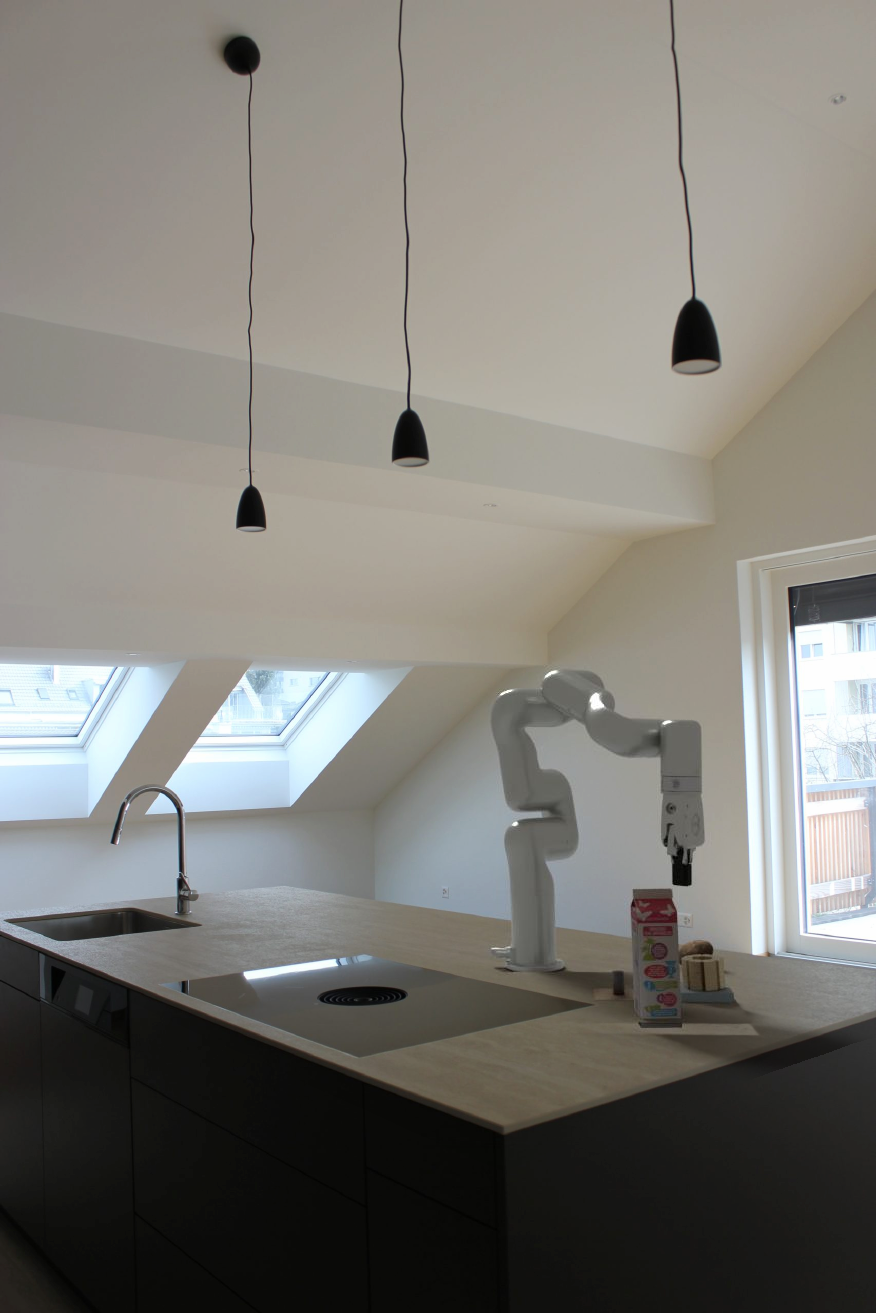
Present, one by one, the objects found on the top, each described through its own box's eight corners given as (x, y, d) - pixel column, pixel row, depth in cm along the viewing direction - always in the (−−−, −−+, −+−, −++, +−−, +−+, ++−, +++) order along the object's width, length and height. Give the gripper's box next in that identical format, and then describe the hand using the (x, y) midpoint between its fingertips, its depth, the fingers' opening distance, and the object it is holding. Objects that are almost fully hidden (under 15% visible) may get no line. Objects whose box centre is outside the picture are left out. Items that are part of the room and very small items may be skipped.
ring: (715, 992, 177) (713, 962, 177) (677, 988, 181) (675, 960, 181) (730, 984, 182) (728, 955, 183) (693, 981, 186) (691, 953, 187)
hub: (681, 1010, 177) (680, 969, 178) (675, 998, 186) (674, 959, 187) (734, 1010, 176) (732, 969, 177) (725, 998, 185) (724, 959, 186)
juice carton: (634, 1017, 173) (629, 886, 175) (674, 1017, 172) (668, 886, 175) (641, 1027, 166) (636, 891, 168) (682, 1027, 166) (676, 890, 168)
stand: (595, 1008, 180) (594, 976, 180) (593, 996, 189) (592, 966, 189) (646, 1008, 179) (645, 976, 179) (642, 997, 188) (641, 966, 188)
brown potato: (718, 948, 217) (703, 926, 216) (725, 970, 210) (709, 947, 208) (685, 965, 219) (670, 943, 218) (691, 987, 211) (675, 964, 210)
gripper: (684, 788, 181) (685, 892, 179) (715, 785, 193) (716, 882, 191) (645, 786, 185) (646, 888, 184) (678, 783, 197) (679, 878, 196)
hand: (682, 885), depth 188 cm, fingers closed
